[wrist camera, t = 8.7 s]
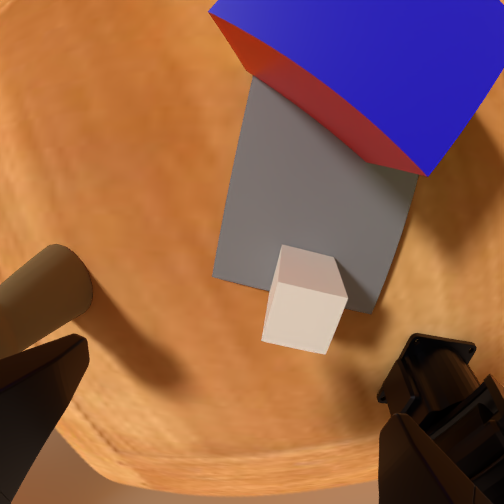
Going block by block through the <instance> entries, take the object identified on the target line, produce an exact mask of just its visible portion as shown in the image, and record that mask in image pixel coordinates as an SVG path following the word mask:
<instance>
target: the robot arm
mask: <svg viewBox="0 0 504 504" xmlns="http://www.w3.org/2000/svg"><path fill="white" fill-rule="evenodd" d="M416 339H418V340H417V341H416V342H414V341H415V340H416ZM475 351H476V346H475V344H474V343H472V342H466V341H460V340H454V339H448V338H442V337H436V336H431V335H425V334H420V333H415V334H413V335H411V336H410V338H409V339H408V341H407V343H406V345H405V347H404V349H403V351H402V353H401V355H400V356H399V358H398V359H397V360H396V362H395V363H394V365H393V367H392V369H391V371H390V372H389V374H388V376H387V378H386V379H385V381H384V383H383V385H382V388H381V389H380V391H379V393H378V394H377V400H378V402H379V403H386V404H388V407H389V410H390V414H391V418H390V419H389V421H388V422H387V423H386V424H385V426H384V427H383V428H382V430H381V432H380V436H379V469H378V484H379V504H504V388H503V387H502V386H501V385H500V384H499V383H498V382H497V380H496V379H495V378H494V377H493V376H492V375H491V374H489V375H488V376H487V377H486V378H485V379H484V382H483V383H482V384H481V385H480V383H479V382H478V380H477V378H476V377H475V375H474V373H473V372H472V370H471V369H470V367H469V365H468V363H469V361H470V360H471V358H472V356H473V355H474V353H475ZM88 365H89V350H88V342H87V339H86V338H85V337H82V336H80V335H78V334H71V335H68V336H65V337H62V338H59V339H57V340H54V341H51V342H48V343H45V344H42V345H39V346H37V347H34V348H31V349H28V350H25V351H22V352H19V353H16V354H14V355H11V356H8V357H5V358H2V359H0V504H11V502H12V500H13V498H14V496H15V494H16V493H17V491H18V489H19V487H20V485H21V483H22V482H23V480H24V478H25V476H26V474H27V472H28V471H29V469H30V467H31V466H32V464H33V462H34V461H35V459H36V457H37V456H38V454H39V452H40V450H41V448H42V447H43V445H44V444H45V442H46V440H47V439H48V437H49V436H50V434H51V432H52V431H53V429H54V427H55V426H56V424H57V423H58V421H59V420H60V418H61V416H62V415H63V413H64V412H65V410H66V408H67V407H68V405H69V403H70V401H71V399H72V397H73V395H74V393H75V391H76V389H77V387H78V385H79V383H80V381H81V379H82V377H83V375H84V373H85V371H86V369H87V367H88ZM384 396H385V397H384Z"/></svg>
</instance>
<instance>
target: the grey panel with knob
mask: <svg viewBox="0 0 504 504" xmlns="http://www.w3.org/2000/svg"><path fill="white" fill-rule="evenodd" d="M418 176H419V175H418V174H414V173H410V172H406V171H402V170H398V169H394V168H390V167H385V166H381V165H376V164H371V163H367V162H365V161H364V160H363V159H362V158H361V157H360V156H359V155H357V154H356V153H355V152H354V151H353V150H352V149H351V148H349V147H348V146H347V145H346V144H345V143H343V142H342V141H341V140H340V139H339V138H337V137H336V136H335V135H334V134H333V133H331V132H330V131H329V130H328V129H326V128H325V127H324V126H323V125H321V124H320V123H319V122H318V121H316V120H315V119H314V118H313V117H311V116H310V115H309V114H307V113H306V112H305V111H303V110H302V109H301V108H299V107H298V106H297V105H295V104H294V103H293V102H291V101H290V100H288V99H287V98H286V97H284V96H283V95H282V94H280V93H279V92H277V91H276V90H274V89H273V88H272V87H270V86H269V85H267V84H266V83H264V82H263V81H261V80H260V79H258V78H257V77H255V76H254V75H253V79H252V83H251V87H250V91H249V96H248V100H247V105H246V109H245V114H244V118H243V123H242V127H241V132H240V136H239V141H238V146H237V150H236V155H235V160H234V165H233V170H232V175H231V179H230V184H229V189H228V194H227V199H226V205H225V210H224V215H223V220H222V225H221V231H220V236H219V241H218V247H217V252H216V258H215V263H214V269H213V275H212V277H215V278H219V279H222V280H226V281H230V282H234V283H238V284H242V285H246V286H250V287H254V288H259V289H263V290H267V291H270V292H269V298H268V304H267V310H266V316H265V322H264V328H263V334H262V340H261V341H264V342H268V343H273V344H277V345H281V346H286V347H291V348H295V349H300V350H305V351H310V352H315V353H320V354H326V352H327V350H328V347H329V345H330V343H331V340H332V338H333V335H334V333H335V330H336V328H337V326H338V323H339V321H340V318H341V315H342V313H343V310H344V308H345V309H349V310H354V311H358V312H363V313H368V314H372V311H373V309H374V307H375V304H376V302H377V299H378V297H379V294H380V292H381V289H382V287H383V284H384V282H385V279H386V276H387V274H388V271H389V268H390V266H391V263H392V260H393V257H394V255H395V252H396V249H397V246H398V243H399V240H400V237H401V234H402V231H403V228H404V225H405V221H406V218H407V215H408V212H409V208H410V205H411V201H412V198H413V194H414V191H415V187H416V184H417V180H418Z"/></svg>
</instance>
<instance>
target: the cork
mask: <svg viewBox="0 0 504 504" xmlns="http://www.w3.org/2000/svg"><path fill="white" fill-rule="evenodd" d="M92 297H93V292H92V283H91V280H90V276H89V273H88V271H87V270H86V268H85V266H84V264H83V262H82V261H81V260H80V259H79V258H78V256H77V255H76V254H75V253H74V252H73V251H71V250H70V249H68V248H67V247H65V246H62V245H59V244H53V245H49V246H47V247H46V248H45V249H43V250H42V251H41V252H39V253H38V254H37V255H36V256H34V257H33V258H32V259H31V260H29V261H28V262H27V263H26V264H24V265H23V266H22V267H21V268H19V269H18V270H17V271H16V272H15V273H13V274H12V275H11V276H10V277H9V278H8V279H6V280H5V281H4V282H3V283H2V284H1V285H0V359H2V358H5V357H8V356H11V355H14V354H16V353H19V352H22V351H23V350H25V349H26V348H28V347H29V346H31V345H32V344H34V343H36V342H37V341H39V340H40V339H42V338H44V337H45V336H47V335H48V334H50V333H51V332H53V331H55V330H56V329H58V328H60V327H61V326H63V325H64V324H66V323H68V322H69V321H71V320H72V319H74V318H76V317H77V316H79V315H81V314H82V313H84V312H85V311H86V310H87V309H88V308H89V306H90V305H91V301H92Z"/></svg>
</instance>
